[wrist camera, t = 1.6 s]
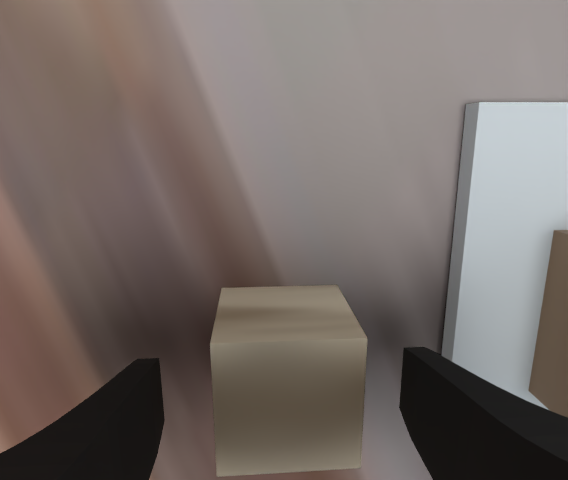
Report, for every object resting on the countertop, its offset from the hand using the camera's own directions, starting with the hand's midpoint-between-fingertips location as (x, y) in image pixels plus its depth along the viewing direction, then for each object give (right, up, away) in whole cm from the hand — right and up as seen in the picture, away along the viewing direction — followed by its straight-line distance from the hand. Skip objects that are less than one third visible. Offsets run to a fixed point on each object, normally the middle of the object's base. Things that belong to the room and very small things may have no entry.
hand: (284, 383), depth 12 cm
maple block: (0, +1, +3) cm, 3 cm away
